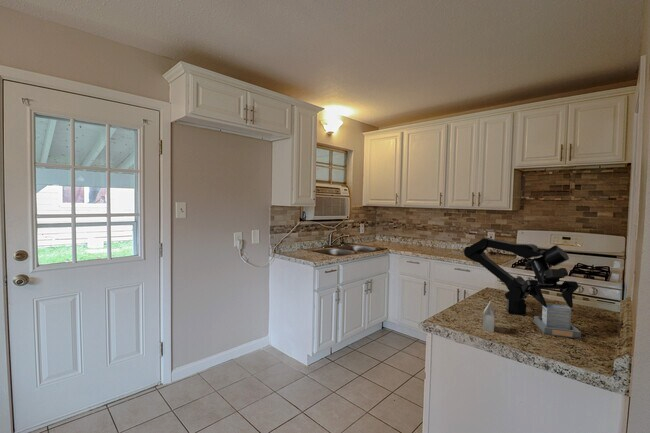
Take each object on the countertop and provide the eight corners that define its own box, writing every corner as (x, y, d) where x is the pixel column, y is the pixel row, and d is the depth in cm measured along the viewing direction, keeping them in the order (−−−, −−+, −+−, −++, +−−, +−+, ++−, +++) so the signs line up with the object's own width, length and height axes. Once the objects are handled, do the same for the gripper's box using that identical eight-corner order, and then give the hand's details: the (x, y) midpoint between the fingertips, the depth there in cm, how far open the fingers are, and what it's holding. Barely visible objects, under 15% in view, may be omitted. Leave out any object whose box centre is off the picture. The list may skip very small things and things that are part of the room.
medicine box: (565, 326, 121) (566, 304, 121) (570, 331, 117) (571, 308, 117) (541, 324, 123) (542, 302, 123) (545, 328, 119) (546, 306, 119)
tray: (544, 334, 116) (544, 328, 115) (533, 321, 128) (534, 315, 128) (580, 339, 112) (581, 332, 112) (566, 325, 124) (566, 319, 124)
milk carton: (482, 330, 119) (483, 304, 119) (483, 324, 125) (484, 299, 124) (493, 332, 117) (494, 305, 117) (494, 326, 123) (495, 301, 123)
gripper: (526, 259, 124) (542, 295, 113) (577, 260, 122) (597, 297, 112) (515, 274, 132) (529, 309, 122) (562, 276, 131) (580, 311, 120)
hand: (558, 306), depth 119 cm, fingers open, 9 cm apart
